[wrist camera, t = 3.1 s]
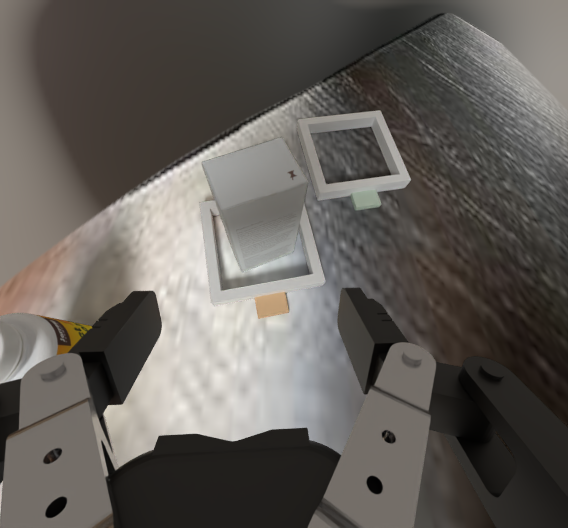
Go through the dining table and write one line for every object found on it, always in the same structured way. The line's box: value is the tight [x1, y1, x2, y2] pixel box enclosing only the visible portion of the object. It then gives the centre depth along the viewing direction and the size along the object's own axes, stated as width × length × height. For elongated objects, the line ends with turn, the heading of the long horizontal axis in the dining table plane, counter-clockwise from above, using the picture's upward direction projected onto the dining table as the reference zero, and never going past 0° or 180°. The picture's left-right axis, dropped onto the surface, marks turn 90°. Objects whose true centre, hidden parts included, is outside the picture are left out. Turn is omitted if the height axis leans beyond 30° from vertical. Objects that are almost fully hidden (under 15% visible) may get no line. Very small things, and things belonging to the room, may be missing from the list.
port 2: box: [297, 111, 411, 210], centre depth 32 cm, size 11×13×2 cm
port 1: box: [199, 200, 325, 319], centre depth 27 cm, size 11×13×2 cm
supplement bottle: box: [0, 313, 92, 384], centre depth 19 cm, size 6×6×10 cm
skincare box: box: [202, 137, 308, 272], centre depth 22 cm, size 6×4×12 cm
